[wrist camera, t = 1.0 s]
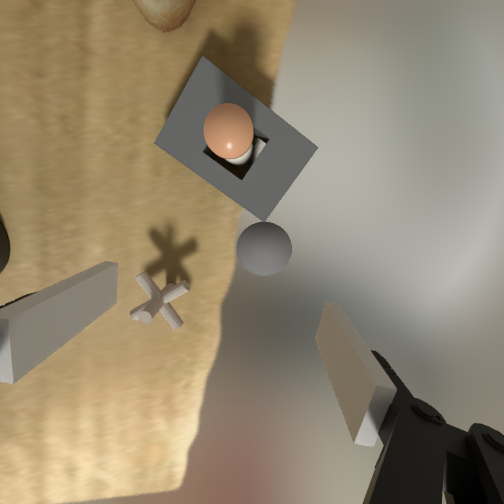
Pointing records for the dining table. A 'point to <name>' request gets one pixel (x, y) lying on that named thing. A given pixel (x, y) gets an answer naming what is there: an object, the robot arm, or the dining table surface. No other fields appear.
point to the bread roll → (165, 12)
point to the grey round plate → (264, 248)
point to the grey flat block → (264, 127)
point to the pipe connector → (159, 301)
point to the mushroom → (230, 133)
